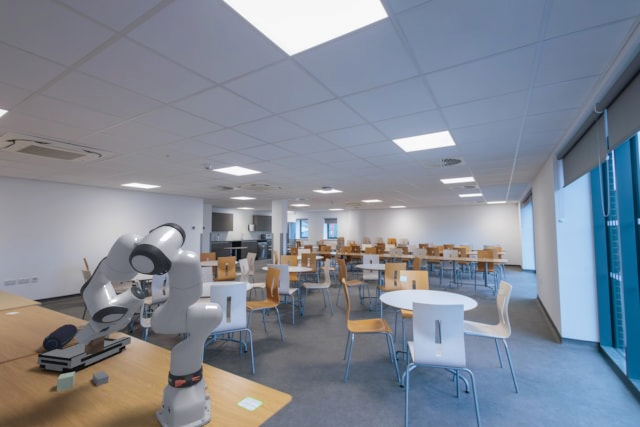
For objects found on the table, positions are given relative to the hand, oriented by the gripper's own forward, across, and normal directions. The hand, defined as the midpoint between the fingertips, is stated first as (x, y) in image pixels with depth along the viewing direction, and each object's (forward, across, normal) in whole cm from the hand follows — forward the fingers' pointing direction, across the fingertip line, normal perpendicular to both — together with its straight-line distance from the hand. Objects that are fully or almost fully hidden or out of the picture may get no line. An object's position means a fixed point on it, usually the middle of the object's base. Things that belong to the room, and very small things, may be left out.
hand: (93, 340), depth 118 cm
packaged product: (+74, -53, -43) cm, 101 cm away
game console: (+40, -26, -9) cm, 49 cm away
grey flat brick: (+19, -9, +11) cm, 24 cm away
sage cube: (+26, -2, +4) cm, 27 cm away
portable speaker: (+64, -38, -34) cm, 82 cm away
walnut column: (+3, 0, +4) cm, 4 cm away
